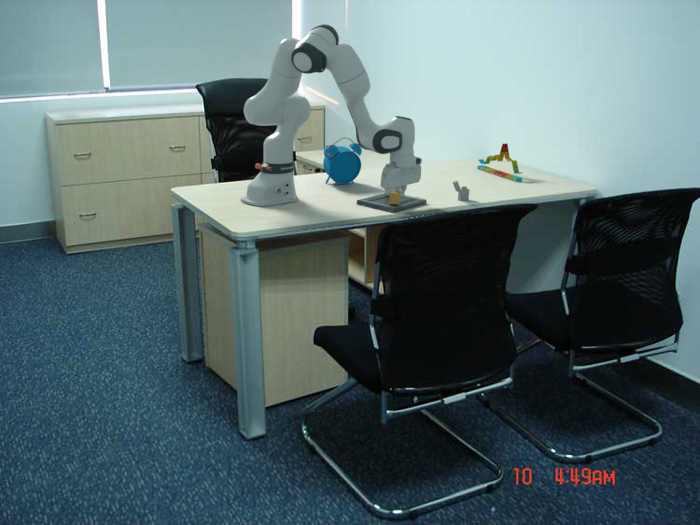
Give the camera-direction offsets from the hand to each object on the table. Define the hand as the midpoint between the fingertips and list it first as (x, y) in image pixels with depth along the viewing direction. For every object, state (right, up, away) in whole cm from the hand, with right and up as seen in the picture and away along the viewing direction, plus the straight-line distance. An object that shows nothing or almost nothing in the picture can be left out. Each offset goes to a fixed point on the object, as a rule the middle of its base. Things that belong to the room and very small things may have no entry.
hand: (400, 197), depth 282 cm
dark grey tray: (-3, -2, +5) cm, 6 cm away
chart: (+49, +15, +61) cm, 79 cm away
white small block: (-3, +2, +11) cm, 12 cm away
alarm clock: (-23, +9, +37) cm, 44 cm away
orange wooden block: (-2, -2, -2) cm, 4 cm away
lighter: (+24, 0, +13) cm, 27 cm away
